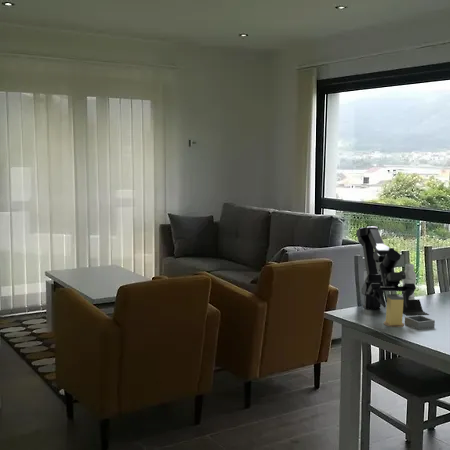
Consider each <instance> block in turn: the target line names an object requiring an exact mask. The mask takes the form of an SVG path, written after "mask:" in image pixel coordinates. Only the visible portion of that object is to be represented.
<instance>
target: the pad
mask: <svg viewBox="0 0 450 450" xmlns="http://www.w3.org/2000/svg"><path fill="white" fill-rule="evenodd" d="M383 325H385V326H386V327H387V326H388V327H391V328H402V327H404V326H405V322H404V323H403V322H402V325H389V324H388V323H387V322H386V320H384V321H383Z"/></svg>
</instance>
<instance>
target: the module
mask: <svg viewBox="0 0 450 450" xmlns="http://www.w3.org/2000/svg"><path fill="white" fill-rule="evenodd" d="M403 300H404V297H402V294H399V293H397V294H396V293H393V294H391V293H388V294H386V307H385V309H386V310H385V321H386V322H387V323H388V324H389V325H402V323H403V315H404V314H403Z"/></svg>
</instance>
